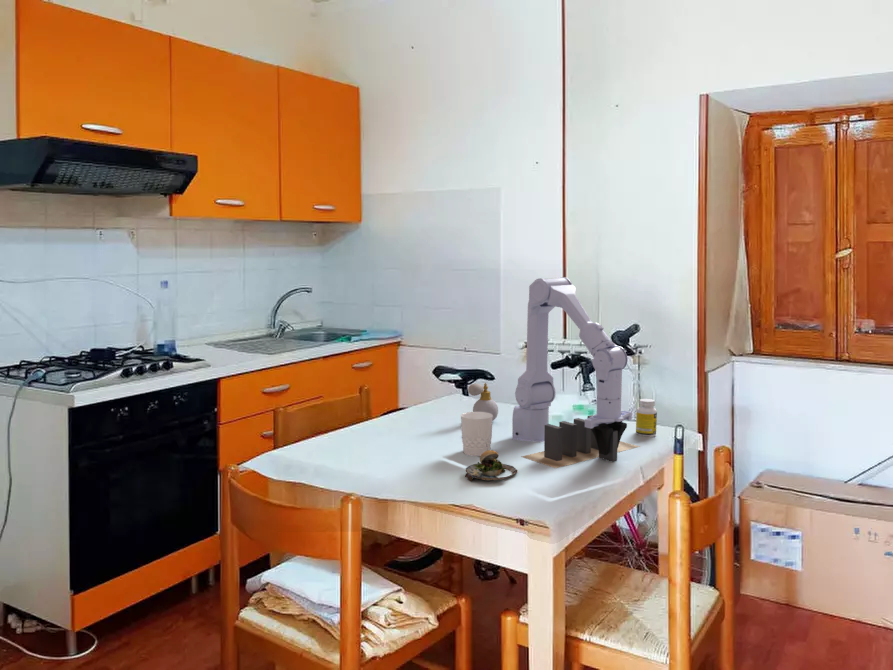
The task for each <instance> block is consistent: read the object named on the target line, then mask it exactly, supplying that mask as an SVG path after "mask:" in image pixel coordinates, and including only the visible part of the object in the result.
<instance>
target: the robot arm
mask: <svg viewBox="0 0 893 670" xmlns="http://www.w3.org/2000/svg"><path fill="white" fill-rule="evenodd" d="M576 288H577V287H576V286H575V285H574V284H573V282H572V281H571V280H570V278H568V277H566V276H562V277H554V278H553V277H552V278H542V277H541V278H536V279H535V280H534V281H533V282H531V283H530V284H529V287H528V290H529V291H528V293H529V294H528V303H527V319H526V320H527V323H526V327H527V328H526V332H527V333H526V362H525V363H526V370H525V371H524V372H523V373H522V374H521V375H520V376H519V377H518V378H517V386H516V388H515V393H514V396H515V400H516V402H517V404H518V405H515V406H514V407H513V410H512V419H511V420H512V421H511V423H512V425H511V426H512V427H511V428H512V434H511V435H512V437H511V440H512V441H513V440H514V441H525V442H535V443H544V435H545V425H547V424H550V423H549V419H550V417H549V416H550V415H549V413H550V410H549V409H550V408H549V407H551V406H552V403H553V401H554V400H555V398H556V388H555V385H554V376H553V375H551V374H550V373H549V372H548V346H549V345H548V344H549V313H550V312H551V311H552V310H553V309H555V307H557V308H561V309H562V310H563V311H564V312H565V314H567V316H568V317H569V318H570V320H571V321H572V322H573V323H574V324H575V326H576V327H577V328H578V329H579V335H578V336H579V339H580V340H581V341H582V343H583V345H584V346H585V348H586V349H587V350H588V351H589V354H590V355H592V359H591V364H592V367H593V368H594V370H595V377H596V379H597V380H596V387H597V388H596V414H594V415H593V416H592V417H590V418H588V419H587V418H584V420H585V427H586V428H590V429H591V430H592V432H593V434H594V436H595V438H596V441H597V445H598V449H599V453H600V454H603V455H607V454H608V450H609V440H610V436H611V433H612V430H617V431H618V443H617V449H618V445H619V442H620V441H621V439H622V437H623V435H624V433H625V431H626V429H627V427H628V424H627V422H624V421H626V420H628V421H630V420H633V417H632V416H633V413H632V412H633V411H629V410H622V393H623V391H622V390H623V388H622V387H623V385H622V383H623V380H622V379H623V370H624V369H625V368H626V366H627V365H628V362H629V361H628V354H627V353H626V351H625V349H624V348H623V347H622V346H619V345H617V344H616V343H614V342H613V340H612V339H610V336H609V335H608V334H607V333H606V331H605V330H604V327H603V325H602V324H600V323H598V322H593V321H592V320H591V318H590V316H589V314H588V313H587V311H586V310H585V308H584V307H583V305H582V303H581V302H580V300H579V298H578V297H577V294H576V292H577V291H576V290H577V289H576Z"/></svg>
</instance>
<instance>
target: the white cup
mask: <svg viewBox="0 0 893 670" xmlns="http://www.w3.org/2000/svg"><path fill="white" fill-rule="evenodd" d="M492 419H493V415H492V414H490V413H486V412H473V411H468V412H464V413H461V414H460V421H461V423H460V424H461V427H460V428H461V441H462V449H463V450H462V451H463V452H462V453H463V454H464V455H467V456H472V457H473V456H475V457H478V456H479V457H481V455H482V454H483V453H484V452H485V451H487V449H488V450H491V445H492V438H493V437H492V436H493V434H492V433H493V421H492ZM486 443H487V444H486Z"/></svg>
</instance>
